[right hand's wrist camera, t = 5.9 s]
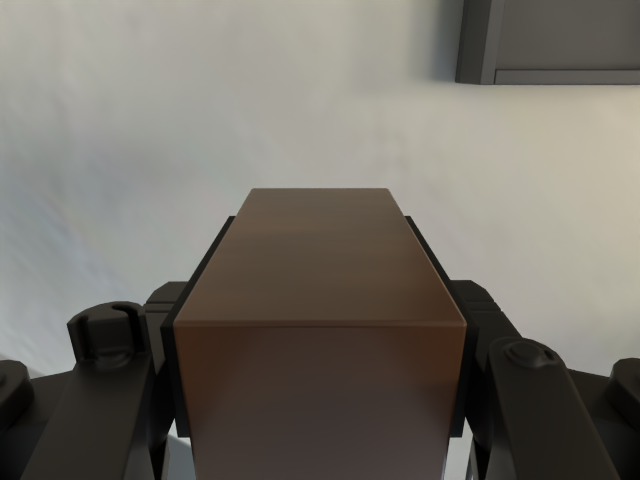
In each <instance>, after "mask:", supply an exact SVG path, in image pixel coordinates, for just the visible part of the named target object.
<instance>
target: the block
mask: <svg viewBox="0 0 640 480" xmlns="http://www.w3.org/2000/svg"><path fill="white" fill-rule="evenodd" d="M466 327H467V323H466V321H465V319H464V317H463V316H462V314H461V312H460V310H459V309H458V307H457V305H456V304H455V302H454V300H453V299H452V297H451V295H450V293H449V292H448V290H447V288H446V287H445V285H444V283H443V282H442V280H441V278H440V276H439V275H438V273H437V271H436V270H435V268H434V266H433V264H432V263H431V261H430V259H429V258H428V256H427V254H426V253H425V251H424V249H423V247H422V246H421V244H420V242H419V241H418V239H417V237H416V236H415V234H414V232H413V230H412V229H411V227H410V225H409V224H408V222H407V220H406V219H405V217H404V215H403V213H402V212H401V210H400V208H399V207H398V205H397V203H396V201H395V200H394V198H393V196H392V195H391V193H390V191H389V190H388V189H386V188H254V189H252V190H251V191H250V193H249V195H248V196H247V198H246V200H245V202H244V203H243V205H242V207H241V208H240V210H239V212H238V213H237V215H236V217H235V218H234V220H233V222H232V224H231V225H230V227H229V229H228V230H227V232H226V234H225V235H224V237H223V239H222V241H221V242H220V244H219V246H218V247H217V249H216V251H215V252H214V254H213V256H212V257H211V259H210V261H209V263H208V264H207V266H206V268H205V269H204V271H203V273H202V274H201V276H200V278H199V279H198V281H197V283H196V285H195V286H194V288H193V290H192V291H191V293H190V295H189V296H188V298H187V300H186V302H185V303H184V305H183V307H182V308H181V310H180V312H179V313H178V315H177V317H176V318H175V320H174V323H173V329H174V335H175V342H176V349H177V355H178V362H179V368H180V375H181V382H182V388H183V395H184V402H185V408H186V415H187V421H188V428H189V435H190V441H191V448H192V454H193V461H194V468H195V474H196V480H444V473H445V466H446V460H447V453H448V446H449V440H450V433H451V427H452V420H453V413H454V407H455V400H456V393H457V387H458V380H459V374H460V367H461V360H462V354H463V347H464V340H465V334H466Z"/></svg>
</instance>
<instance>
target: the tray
mask: <svg viewBox="0 0 640 480" xmlns="http://www.w3.org/2000/svg"><path fill="white" fill-rule="evenodd" d="M455 82H456V83H464V84H475V85H640V0H464V9H463V18H462V27H461V35H460V44H459V53H458V62H457V71H456V79H455Z"/></svg>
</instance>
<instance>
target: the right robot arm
mask: <svg viewBox="0 0 640 480" xmlns="http://www.w3.org/2000/svg"><path fill="white" fill-rule="evenodd" d="M235 217H236V216H229V218H228V219H227V221H226V223H225V224H224V226H223V227H222V229H221V231H220V232H219V234H218V235H217V237H216V238H215V240H214V242H213V243H212V245H211V246H210V248H209V250H208V251H207V253H206V254H205V256H204V258H203V259H202V261H201V262H200V264H199V265H198V267H197V269H196V270H195V272H194V273H193V275H192V277H191V278H190V280H189V281H188V282H168V283H166V284H164V285H163V286H161V287H160V288H158V289H156V290H155V291H154V292H153V293H152V295H151V296H150V297H149V298H148V300H147V301H146V304H144V305H143V306H141V305H139V304H137V303H133V302H129V301H117V302H110V303H104V304H99V305H97V306H94V307H91V308H88V309H86V310H84V311H82V312H80V313H79V314H77V315H75V316H74V317H73V318H72V319H71V320H70V321H69V322H68V323H67V328H68V331H69V335H70V339H71V343H72V347H73V351H74V354H75V358H76V364H75V366H74V368H73V370H71V371H68V372H64V373H59V374H54V375H49V376H44V377H39V378H35V379H30V376H29V373H28V370H27V367H26V366H25V365H24V364H23V363H21V362H20V361H13V360H2V361H0V480H167V476H168V467H169V459H170V450H169V444H168V438H167V435H168V432H169V430H170V428H171V425H172V423H173V420H174V418H175V423H176V429H177V435H178V438H188V437H190V435H189V428H188V421H187V415H186V408H185V402H184V395H183V388H182V382H181V375H180V368H179V362H178V355H177V349H176V342H175V335H174V329H173V323H174V320H175V318H176V317H177V315H178V313H179V312H180V310H181V308H182V307H183V305H184V303H185V302H186V300H187V298H188V296H189V295H190V293H191V291H192V290H193V288H194V286H195V285H196V283H197V281H198V279H199V278H200V276H201V274H202V273H203V271H204V269H205V268H206V266H207V264H208V263H209V261H210V259H211V257H212V256H213V254H214V252H215V251H216V249H217V247H218V246H219V244H220V242H221V241H222V239H223V237H224V235H225V234H226V232H227V230H228V229H229V227H230V225H231V224H232V222H233V220H234V218H235ZM404 217H405V219H406V220H407V222H408V224H409V225H410V227H411V229H412V230H413V232H414V234H415V236H416V237H417V239H418V241H419V242H420V244H421V246H422V247H423V249H424V251H425V253H426V254H427V256H428V258H429V259H430V261H431V263H432V264H433V266H434V268H435V270H436V271H437V273H438V275H439V276H440V278H441V280H442V282H443V283H444V285H445V287H446V288H447V290H448V292H449V293H450V295H451V297H452V299H453V300H454V302H455V304H456V305H457V307H458V309H459V310H460V312H461V314H462V316H463V317H464V319H465V321H466V323H467V327H466V334H465V340H464V347H463V354H462V360H461V367H460V374H459V380H458V387H457V393H456V400H455V407H454V413H453V420H452V427H451V433H450V437H462V433H463V427H464V421H465V417H466V419H467V421H468V424H469V426H470V428H471V431H472V433H473V438H472V443H471V449H470V455H469V460H468V466H467V472H466V479H465V480H471V479H472V475H473V480H640V359H639V358H627V359H621V360H619V361H618V362H616V363H615V364H614V365H613V369H612V372H611V375H610V377H605V376H600V375H595V374H590V373H585V372H580V371H576V370H572V369H568V368H566V366H565V363H564V361H563V360H562V359H561V358H560V356H559V355H558V354H557V353H556V352H555V351H553V350H552V349H550V348H549V347H547V346H546V345H543V344H541V343H539V342H536V341H534V340H531V339H526V338H522V336H521V335H520V334H519V332H518V331H517V330H516V328H515V327H514V326H513V325H512V323H511V322H510V321H509V319H508V318H507V317H506V315H505V314H504V313H503V311H501V309H500V308H499V306H498V305H497V304H496V302H494V300H493V298H492V297H491V296H490V294H489V293H488V292H487V291H486V289H484V288H483V287H481V286H479V285H478V284H476V283H475V282H473V281H471V280H450V279H449V277H448V276H447V274H446V272H445V271H444V269H443V268H442V266H441V264H440V263H439V261H438V260H437V258H436V256H435V255H434V253H433V252H432V250H431V248H430V247H429V245H428V244H427V242H426V241H425V239H424V237H423V236H422V234H421V233H420V231H419V229H418V228H417V226H416V225H415V223H414V221H413V220H412V218H411V217H410V216H404Z"/></svg>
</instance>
